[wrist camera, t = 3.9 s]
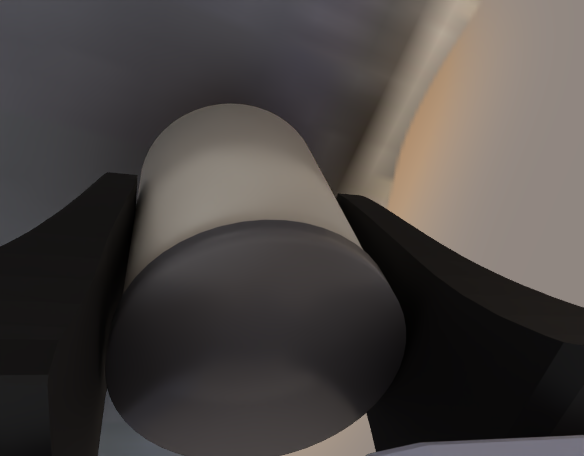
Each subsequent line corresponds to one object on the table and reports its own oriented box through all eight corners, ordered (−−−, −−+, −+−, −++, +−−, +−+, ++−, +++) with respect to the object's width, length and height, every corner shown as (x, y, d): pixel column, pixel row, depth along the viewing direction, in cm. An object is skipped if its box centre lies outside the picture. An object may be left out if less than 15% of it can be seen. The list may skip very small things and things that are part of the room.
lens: (300, 267, 14) (362, 455, 9) (132, 258, 13) (103, 468, 8) (338, 113, 12) (447, 253, 7) (140, 85, 11) (107, 230, 6)
